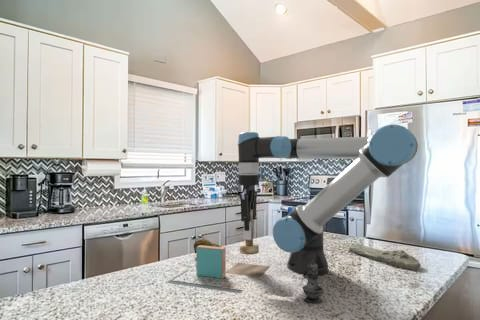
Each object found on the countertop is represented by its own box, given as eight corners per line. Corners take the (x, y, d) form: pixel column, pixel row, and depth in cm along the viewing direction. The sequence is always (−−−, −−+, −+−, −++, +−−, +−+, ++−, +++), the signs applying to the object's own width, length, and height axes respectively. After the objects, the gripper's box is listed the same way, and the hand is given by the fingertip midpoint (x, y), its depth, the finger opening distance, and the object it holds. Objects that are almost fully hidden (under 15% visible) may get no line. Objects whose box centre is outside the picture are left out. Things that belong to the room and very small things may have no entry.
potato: (225, 259, 141) (225, 240, 141) (194, 261, 138) (194, 242, 138) (221, 254, 149) (221, 236, 149) (192, 256, 146) (192, 237, 146)
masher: (261, 250, 127) (260, 208, 127) (255, 255, 120) (255, 211, 120) (243, 249, 129) (243, 208, 129) (236, 253, 122) (236, 210, 123)
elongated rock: (359, 251, 160) (343, 255, 156) (358, 240, 161) (342, 243, 156) (428, 268, 129) (410, 273, 125) (426, 254, 129) (408, 258, 125)
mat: (254, 280, 115) (254, 278, 115) (240, 295, 102) (240, 293, 102) (187, 272, 124) (187, 270, 124) (166, 284, 111) (166, 282, 111)
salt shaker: (300, 297, 101) (300, 256, 102) (319, 296, 102) (319, 256, 102) (305, 305, 96) (305, 262, 96) (326, 304, 96) (325, 262, 96)
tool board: (270, 268, 128) (270, 266, 128) (260, 279, 116) (260, 276, 116) (238, 265, 133) (238, 262, 133) (225, 275, 121) (225, 272, 121)
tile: (225, 276, 117) (225, 247, 117) (222, 279, 115) (222, 249, 115) (199, 273, 121) (199, 245, 121) (196, 275, 118) (196, 246, 118)
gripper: (246, 173, 134) (246, 233, 133) (231, 174, 119) (231, 242, 118) (264, 173, 131) (264, 234, 131) (251, 175, 116) (252, 243, 116)
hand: (249, 238), depth 125 cm, fingers closed on masher, 3 cm apart
